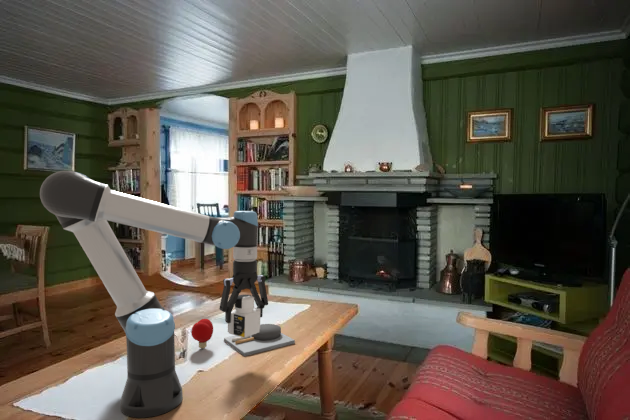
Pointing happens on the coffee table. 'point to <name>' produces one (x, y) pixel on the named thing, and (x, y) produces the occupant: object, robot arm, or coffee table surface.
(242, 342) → the board
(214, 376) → the coffee table surface
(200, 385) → the coffee table surface
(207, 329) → the red toy tree
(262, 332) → the stub
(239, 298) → the medicine bottle
